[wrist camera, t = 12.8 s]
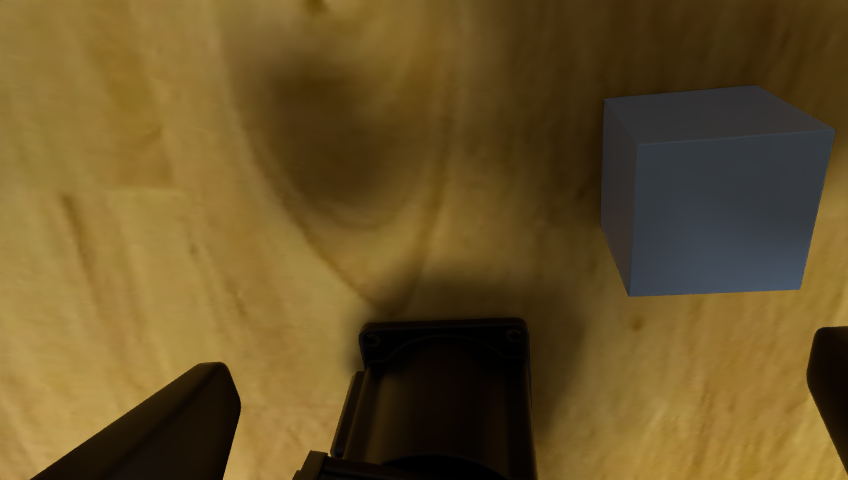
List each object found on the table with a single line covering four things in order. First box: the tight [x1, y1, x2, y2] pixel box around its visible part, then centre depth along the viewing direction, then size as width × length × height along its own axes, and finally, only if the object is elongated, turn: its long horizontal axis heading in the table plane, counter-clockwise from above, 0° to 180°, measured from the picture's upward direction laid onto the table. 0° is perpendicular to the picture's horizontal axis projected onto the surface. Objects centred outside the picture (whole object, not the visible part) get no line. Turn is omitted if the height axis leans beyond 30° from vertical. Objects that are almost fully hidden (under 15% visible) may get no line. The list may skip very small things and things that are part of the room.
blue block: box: [600, 85, 835, 297], centre depth 16 cm, size 4×4×4 cm
